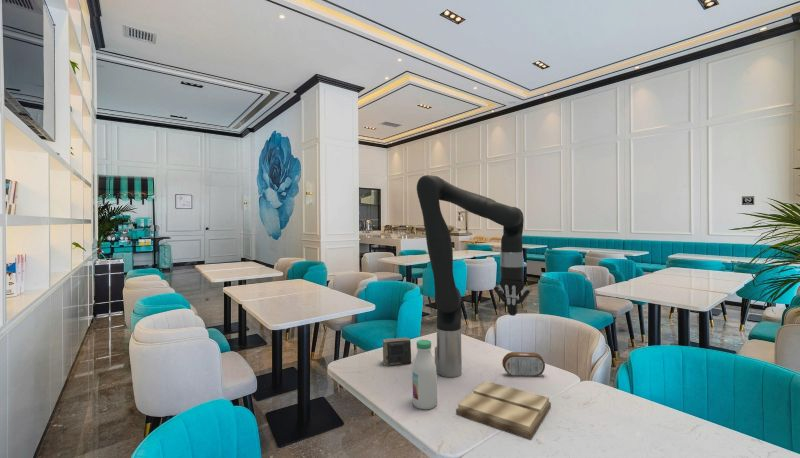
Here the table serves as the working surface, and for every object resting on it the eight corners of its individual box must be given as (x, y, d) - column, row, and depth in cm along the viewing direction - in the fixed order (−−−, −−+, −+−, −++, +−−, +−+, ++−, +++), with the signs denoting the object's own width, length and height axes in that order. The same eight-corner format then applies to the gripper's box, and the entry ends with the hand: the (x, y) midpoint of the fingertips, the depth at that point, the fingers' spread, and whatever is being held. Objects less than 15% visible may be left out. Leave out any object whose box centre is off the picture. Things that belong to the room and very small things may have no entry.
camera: (409, 359, 152) (409, 336, 152) (412, 365, 146) (411, 340, 146) (382, 361, 150) (382, 337, 150) (383, 367, 145) (383, 342, 145)
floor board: (456, 414, 109) (455, 404, 109) (483, 388, 125) (483, 379, 125) (530, 439, 96) (530, 428, 96) (550, 407, 112) (550, 397, 112)
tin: (543, 374, 135) (543, 351, 135) (546, 377, 132) (545, 355, 132) (502, 373, 137) (501, 351, 137) (503, 377, 134) (503, 354, 134)
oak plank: (473, 395, 117) (473, 390, 117) (484, 384, 124) (484, 380, 124) (540, 414, 105) (540, 409, 105) (548, 402, 112) (548, 397, 112)
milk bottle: (439, 399, 118) (438, 338, 117) (434, 412, 111) (432, 346, 110) (416, 396, 120) (415, 336, 120) (409, 408, 113) (408, 344, 113)
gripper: (534, 264, 124) (535, 315, 124) (497, 262, 132) (498, 310, 132) (528, 267, 118) (528, 320, 118) (489, 265, 126) (490, 314, 126)
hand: (512, 315), depth 125 cm, fingers closed
